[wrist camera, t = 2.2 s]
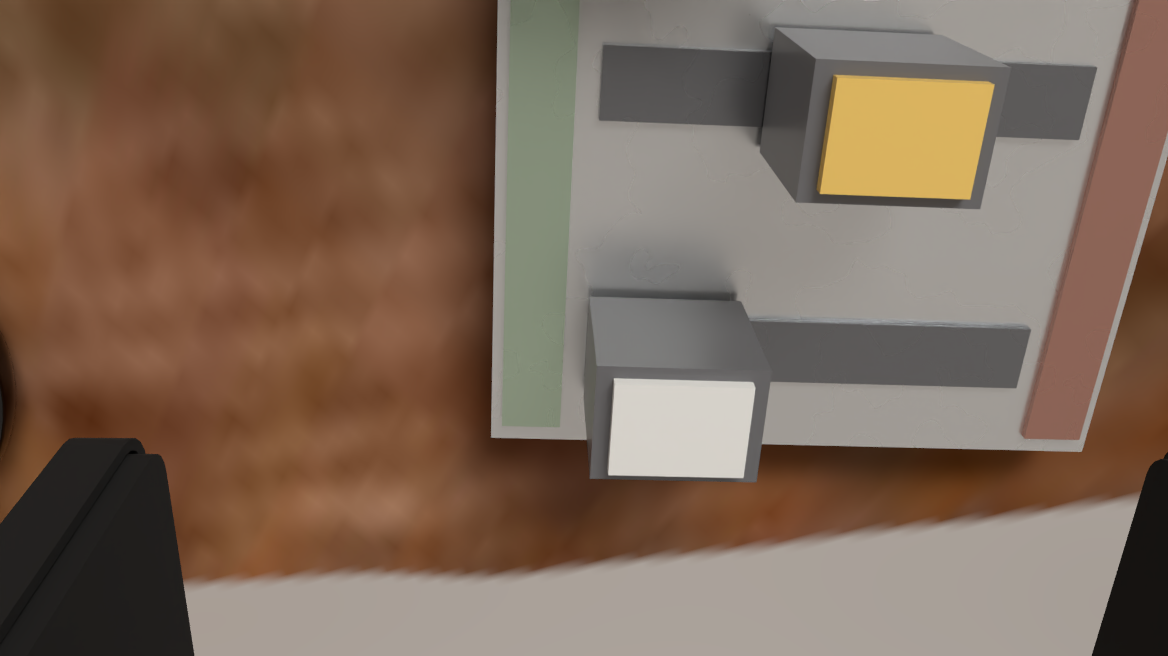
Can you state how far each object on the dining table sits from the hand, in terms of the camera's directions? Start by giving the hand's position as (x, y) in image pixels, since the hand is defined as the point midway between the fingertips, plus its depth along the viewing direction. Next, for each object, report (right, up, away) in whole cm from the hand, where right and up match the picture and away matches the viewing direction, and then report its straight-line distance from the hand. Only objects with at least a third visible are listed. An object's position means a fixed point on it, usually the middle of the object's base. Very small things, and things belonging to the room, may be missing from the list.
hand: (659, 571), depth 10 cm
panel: (+6, +9, +17) cm, 20 cm away
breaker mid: (+6, +8, +15) cm, 18 cm away
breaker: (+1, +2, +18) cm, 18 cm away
